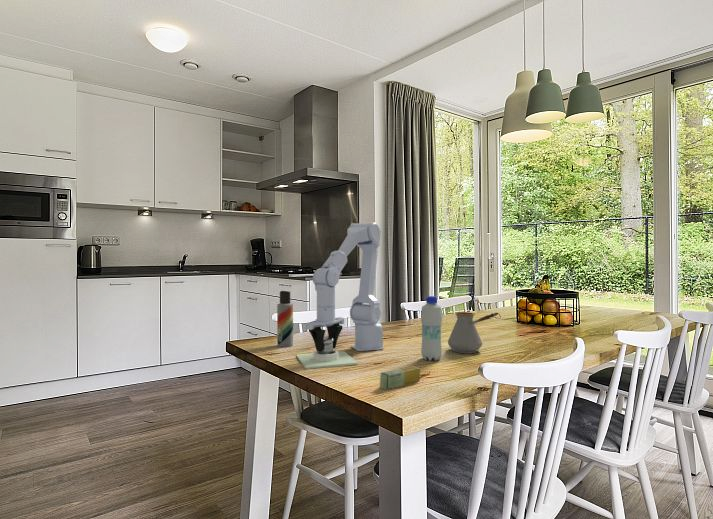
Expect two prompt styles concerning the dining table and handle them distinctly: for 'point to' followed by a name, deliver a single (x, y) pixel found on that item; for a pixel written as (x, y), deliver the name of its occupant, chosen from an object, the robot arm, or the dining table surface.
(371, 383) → the dining table surface
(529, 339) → the dining table surface
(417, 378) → the medication box
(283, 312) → the lotion bottle
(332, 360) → the duct flange
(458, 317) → the coffee pot
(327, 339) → the silver canister
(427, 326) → the bottle
